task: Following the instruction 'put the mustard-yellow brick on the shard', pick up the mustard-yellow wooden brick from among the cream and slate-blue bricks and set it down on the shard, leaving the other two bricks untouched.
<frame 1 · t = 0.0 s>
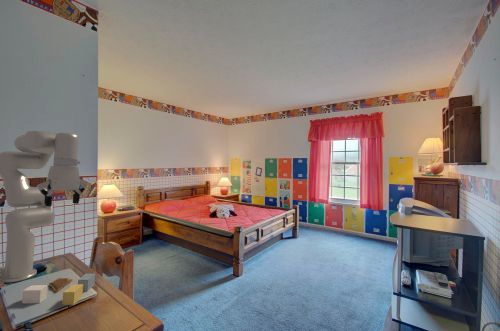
hand: (62, 204, 96), 37 cm above the table, tool pointing down, fingers open, 9 cm apart
shard: (62, 286, 104), on the table
cream brick: (34, 300, 92), on the table
slate brick: (86, 288, 103), on the table
mustard brick: (72, 300, 93), on the table
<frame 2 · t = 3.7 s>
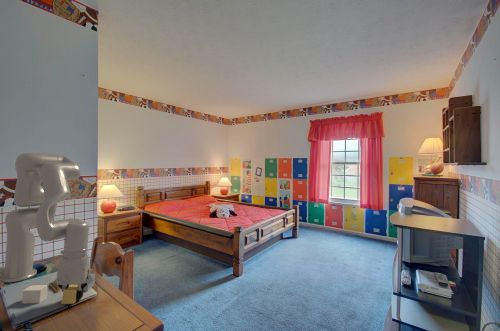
hand: (72, 299, 93), 1 cm above the table, tool pointing down, fingers closed on mustard brick, 3 cm apart
mustard brick: (71, 300, 92), on the table, tilted 8°, touching gripper
everything else where it was.
when the fingers open (4 cm above the table, at t = 8.6 s): mustard brick drops 2 cm, resting on shard.
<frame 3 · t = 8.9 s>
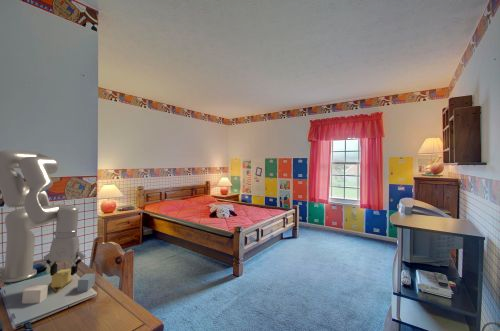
hand: (63, 274, 104), 5 cm above the table, tool pointing down, fingers open, 7 cm apart
shard: (63, 286, 104), on the table, touching mustard brick
mustard brick: (61, 283, 103), point 1 cm above the table, touching shard
everything else where it was.
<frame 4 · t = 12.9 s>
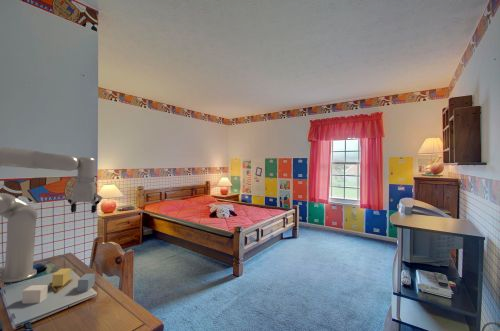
hand: (83, 212, 125), 28 cm above the table, tool pointing down, fingers open, 9 cm apart
at the end: mustard brick inside the target area on the shard (0.8 cm from its centre), point 2.0 cm above the shard's base; cream brick moved 0.1 cm from its start; slate brick moved 0.1 cm from its start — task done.
